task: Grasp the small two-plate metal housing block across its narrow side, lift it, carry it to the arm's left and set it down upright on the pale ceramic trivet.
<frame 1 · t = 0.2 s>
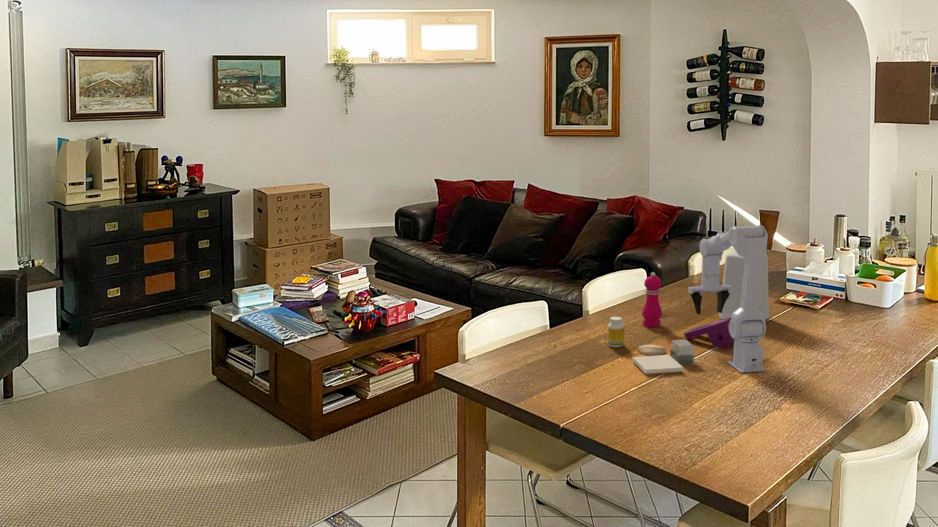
hand: (708, 312, 277), 10 cm above the table, tool pointing down, fingers open, 7 cm apart
trivet: (657, 367, 254), on the table
mounting bracket: (710, 342, 279), on the table
plastic bottle: (743, 319, 304), on the table
supplement bottle: (615, 345, 277), on the table
housing: (681, 360, 260), on the table
pepper mill: (651, 325, 299), on the table
cork coaster: (651, 350, 270), on the table
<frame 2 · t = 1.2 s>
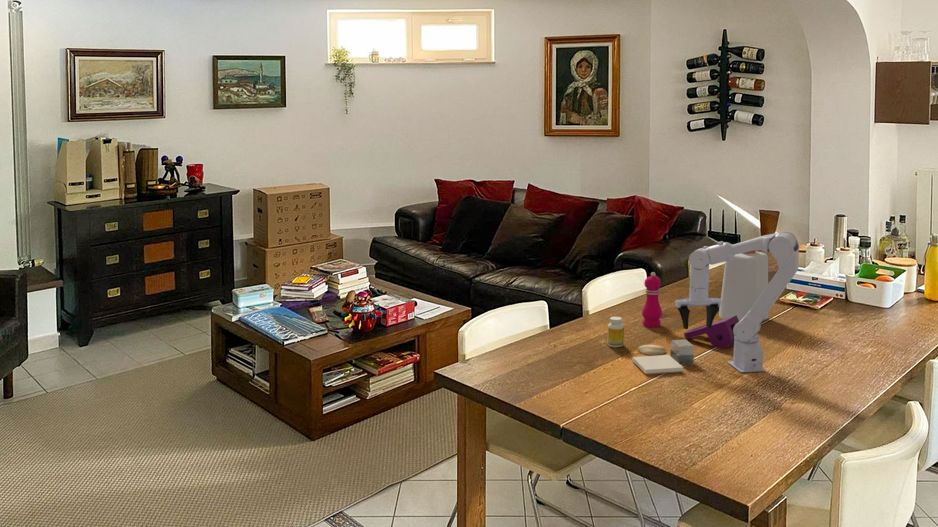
hand: (697, 327, 259), 10 cm above the table, tool pointing down, fingers open, 7 cm apart
nothing on the table moved.
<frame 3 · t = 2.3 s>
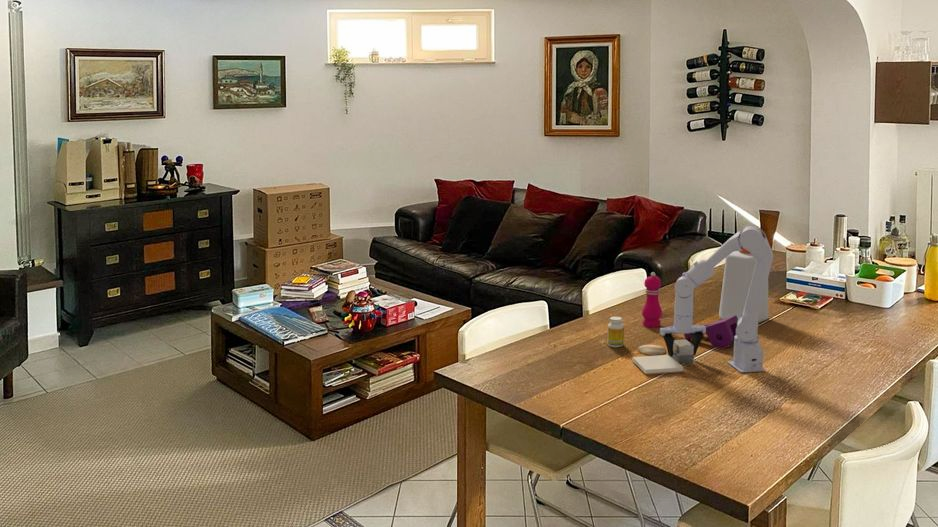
hand: (681, 355, 260), 2 cm above the table, tool pointing down, fingers open, 7 cm apart
nothing on the table moved.
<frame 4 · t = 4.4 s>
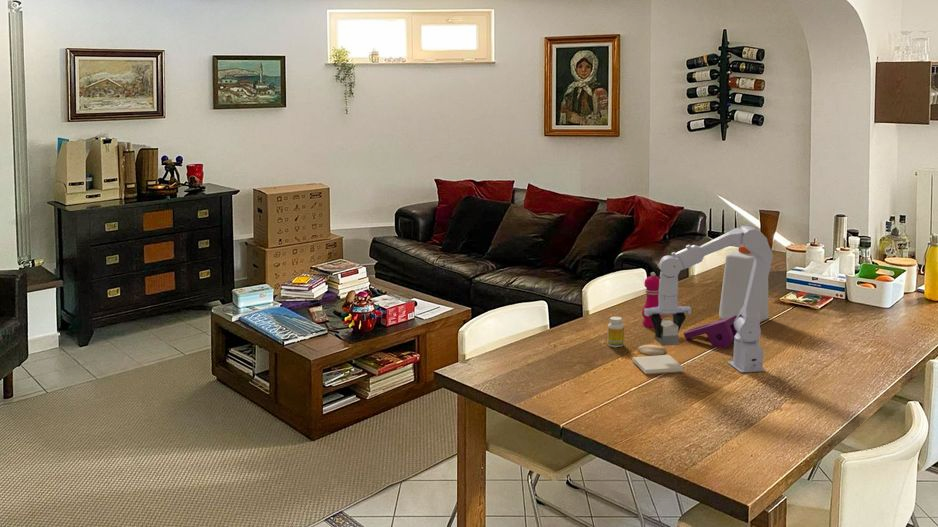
hand: (666, 336, 254), 9 cm above the table, tool pointing down, fingers closed on housing, 5 cm apart
housing: (666, 341, 255), point 8 cm above the table, touching gripper
everything else where it was.
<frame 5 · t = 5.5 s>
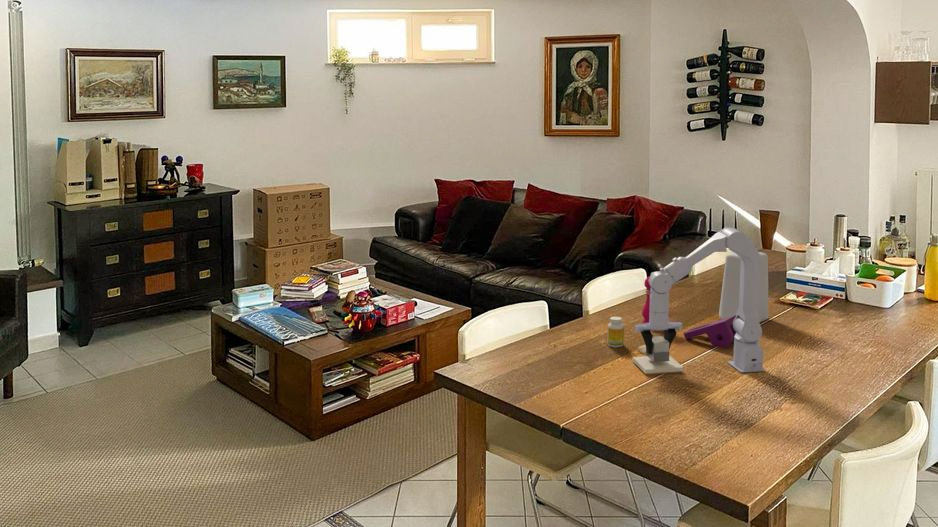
hand: (657, 352, 253), 5 cm above the table, tool pointing down, fingers closed on housing, 5 cm apart
housing: (657, 358, 254), point 3 cm above the table, touching gripper
everything else where it was.
when the fingers open (4 cm above the table, at t = 6.1 s): housing stays where it is, resting on trivet.
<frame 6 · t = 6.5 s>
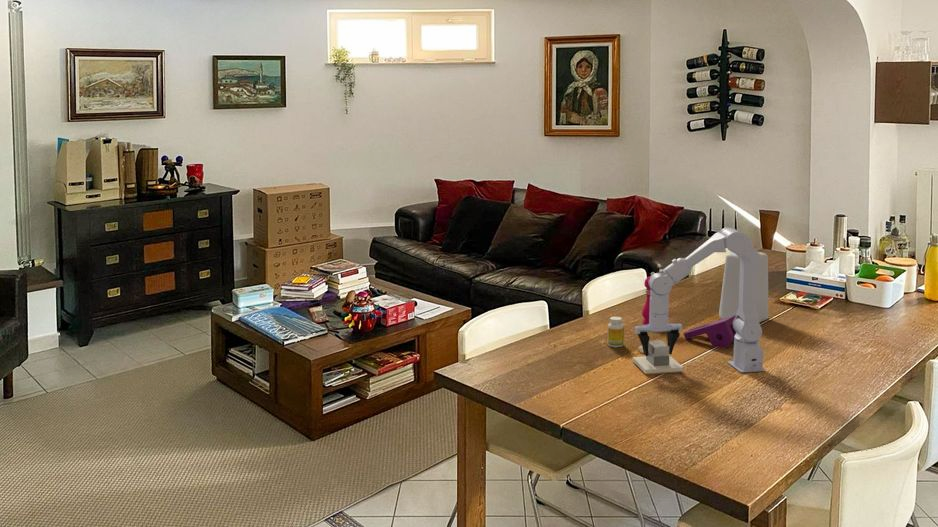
hand: (657, 354, 253), 4 cm above the table, tool pointing down, fingers open, 7 cm apart
housing: (657, 362, 254), point 2 cm above the table, touching trivet
everything else where it was.
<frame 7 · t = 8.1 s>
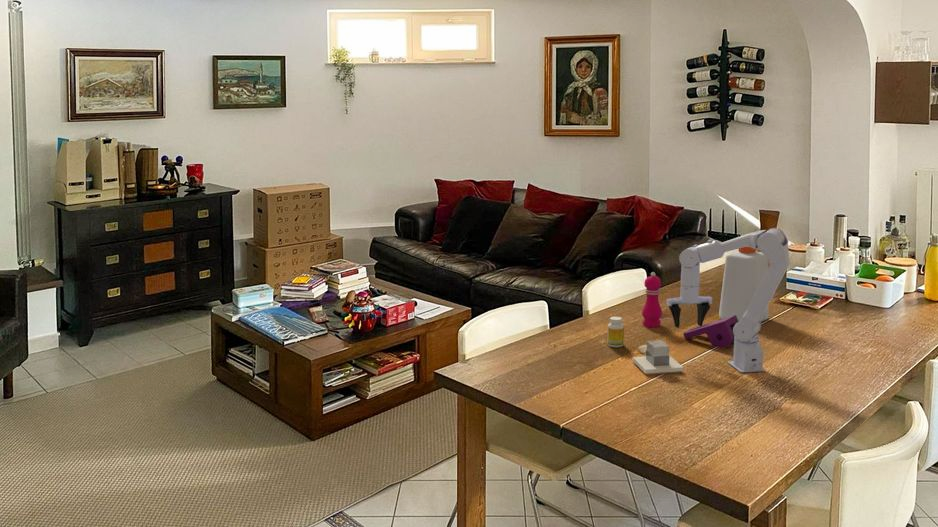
hand: (688, 326, 261), 10 cm above the table, tool pointing down, fingers open, 7 cm apart
nothing on the table moved.
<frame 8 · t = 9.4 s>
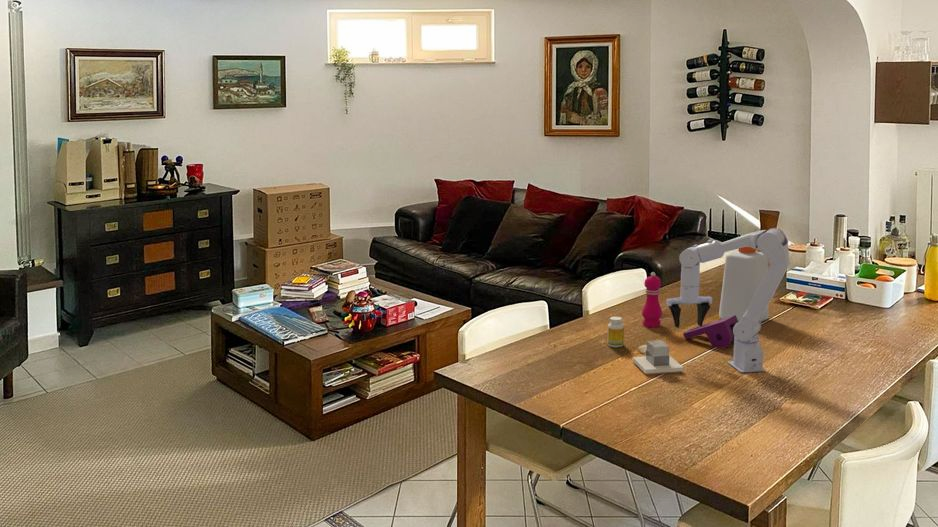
hand: (688, 326, 261), 10 cm above the table, tool pointing down, fingers open, 7 cm apart
nothing on the table moved.
at the end: housing inside the target area on the trivet (0.1 cm from its centre), point 1.8 cm above the trivet's base; housing tilted 0°; the gripper is holding nothing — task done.
